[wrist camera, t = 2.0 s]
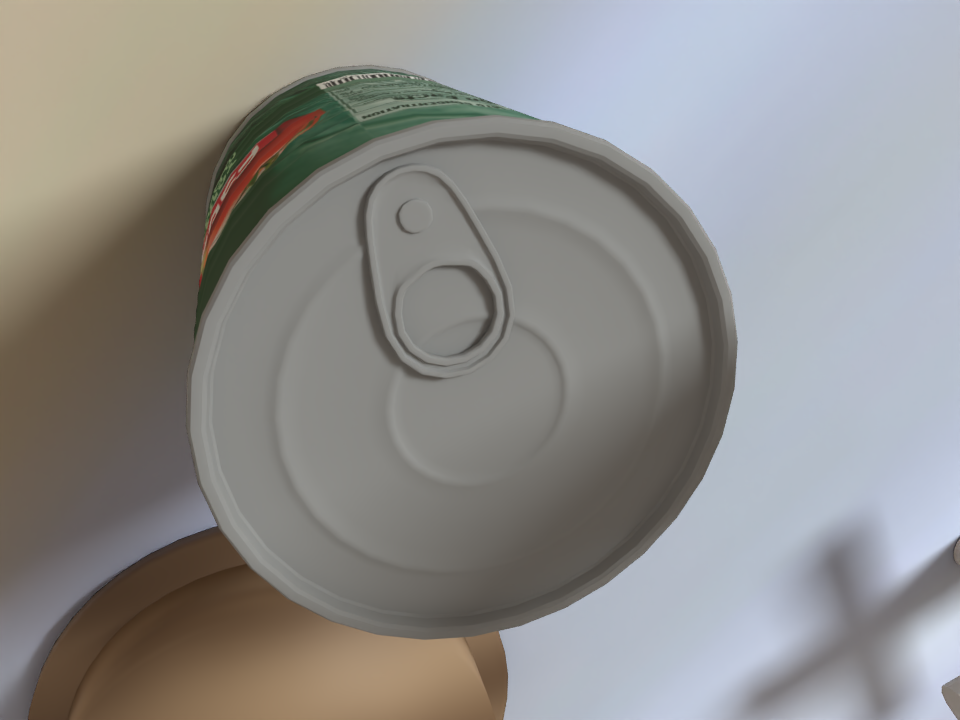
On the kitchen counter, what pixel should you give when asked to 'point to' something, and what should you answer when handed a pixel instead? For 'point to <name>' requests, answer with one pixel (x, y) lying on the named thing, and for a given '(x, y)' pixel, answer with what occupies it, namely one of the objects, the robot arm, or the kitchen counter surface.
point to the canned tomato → (447, 355)
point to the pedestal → (249, 654)
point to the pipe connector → (956, 691)
